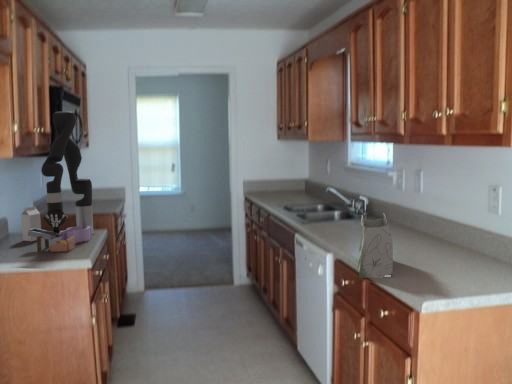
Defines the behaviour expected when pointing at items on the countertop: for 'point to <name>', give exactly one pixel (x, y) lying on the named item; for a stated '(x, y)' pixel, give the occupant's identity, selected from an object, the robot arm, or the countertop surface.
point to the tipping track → (43, 234)
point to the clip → (77, 233)
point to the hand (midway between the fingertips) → (56, 233)
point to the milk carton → (30, 222)
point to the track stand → (40, 244)
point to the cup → (63, 245)
